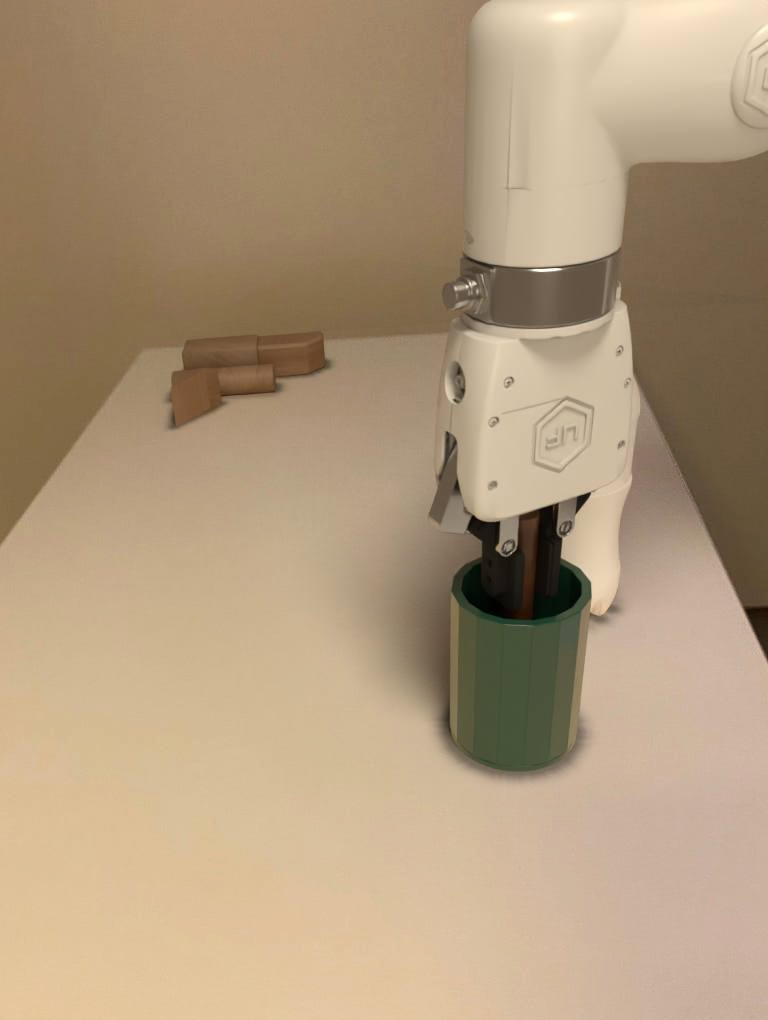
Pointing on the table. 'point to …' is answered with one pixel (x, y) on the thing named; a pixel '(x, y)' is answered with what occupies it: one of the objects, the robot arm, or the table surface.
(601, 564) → the water bottle
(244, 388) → the wooden block set
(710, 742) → the table surface
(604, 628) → the table surface
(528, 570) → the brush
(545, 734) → the green faceted cup
